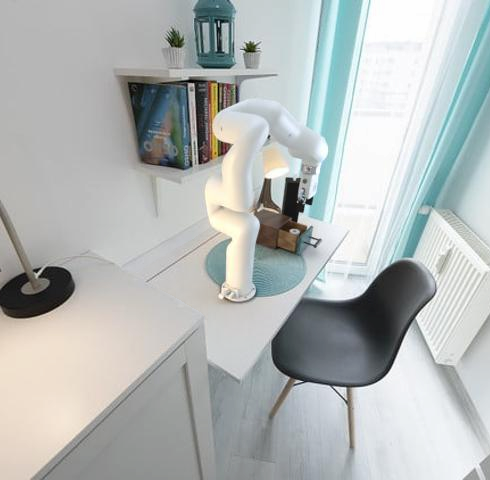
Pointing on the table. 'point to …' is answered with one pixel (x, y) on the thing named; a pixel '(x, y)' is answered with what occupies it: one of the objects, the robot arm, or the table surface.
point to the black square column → (291, 197)
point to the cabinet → (270, 227)
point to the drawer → (295, 237)
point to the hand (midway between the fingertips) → (304, 208)
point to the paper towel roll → (296, 232)
